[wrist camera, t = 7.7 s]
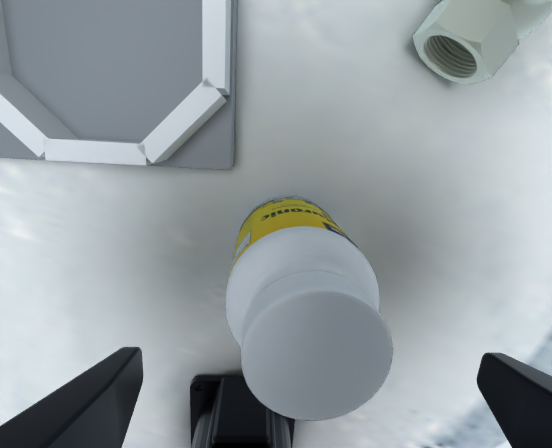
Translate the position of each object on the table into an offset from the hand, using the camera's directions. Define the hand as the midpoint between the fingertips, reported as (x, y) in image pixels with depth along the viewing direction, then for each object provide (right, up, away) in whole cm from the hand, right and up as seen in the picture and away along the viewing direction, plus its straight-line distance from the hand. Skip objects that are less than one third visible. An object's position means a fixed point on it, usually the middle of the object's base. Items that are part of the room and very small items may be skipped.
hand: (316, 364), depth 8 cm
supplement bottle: (0, +3, +10) cm, 10 cm away
